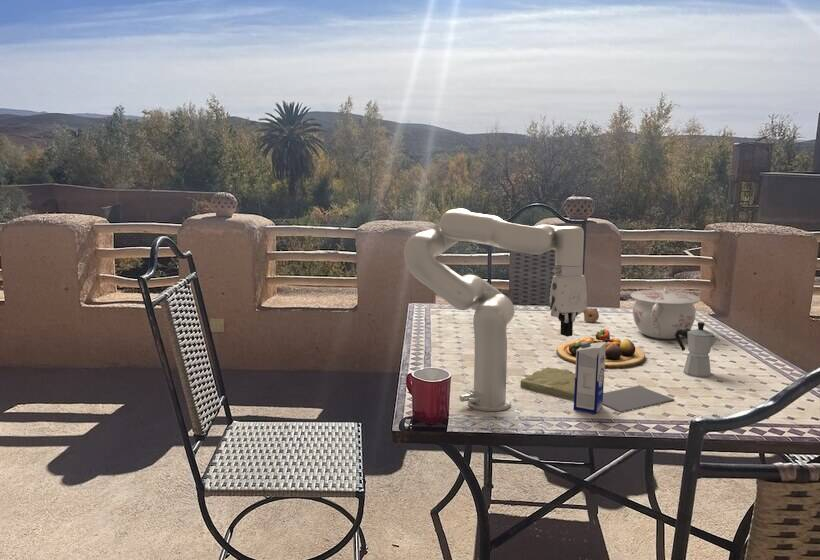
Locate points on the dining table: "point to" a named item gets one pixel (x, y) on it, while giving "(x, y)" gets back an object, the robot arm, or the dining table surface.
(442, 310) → the dining table surface
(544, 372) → the decorative tile
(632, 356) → the wooden plate with food
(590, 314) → the oil lamp
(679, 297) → the chamber pot
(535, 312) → the dining table surface
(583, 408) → the milk carton
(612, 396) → the mat
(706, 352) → the coffee maker
